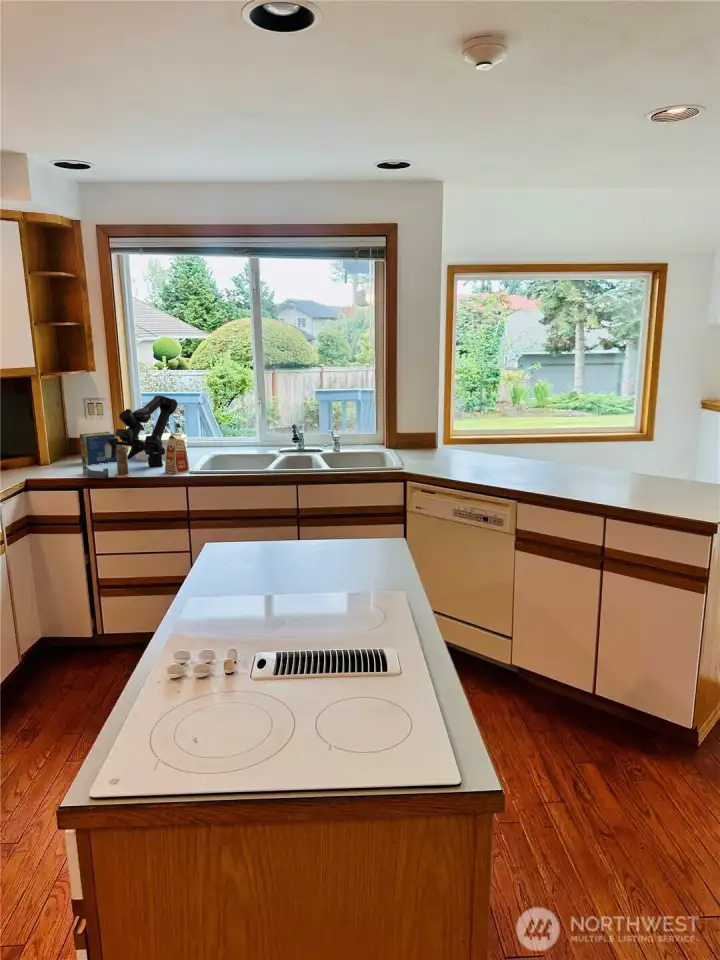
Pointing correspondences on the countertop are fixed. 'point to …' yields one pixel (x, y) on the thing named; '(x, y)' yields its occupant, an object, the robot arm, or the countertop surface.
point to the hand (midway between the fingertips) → (119, 458)
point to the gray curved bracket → (95, 472)
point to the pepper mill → (122, 460)
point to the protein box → (96, 448)
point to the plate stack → (164, 439)
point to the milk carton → (176, 455)
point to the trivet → (122, 475)
